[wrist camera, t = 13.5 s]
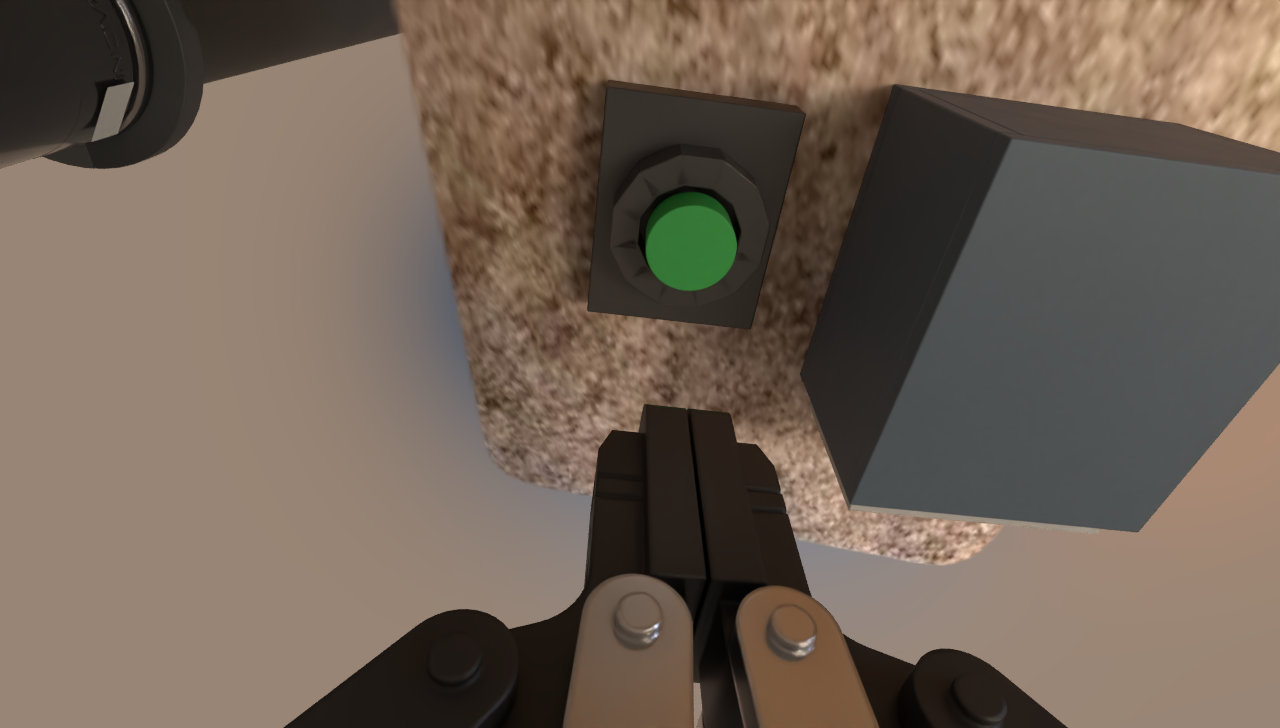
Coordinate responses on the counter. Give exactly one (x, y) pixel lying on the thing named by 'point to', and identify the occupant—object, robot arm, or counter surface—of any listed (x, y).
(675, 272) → the button
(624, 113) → the control block
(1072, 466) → the cabinet
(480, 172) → the counter surface
